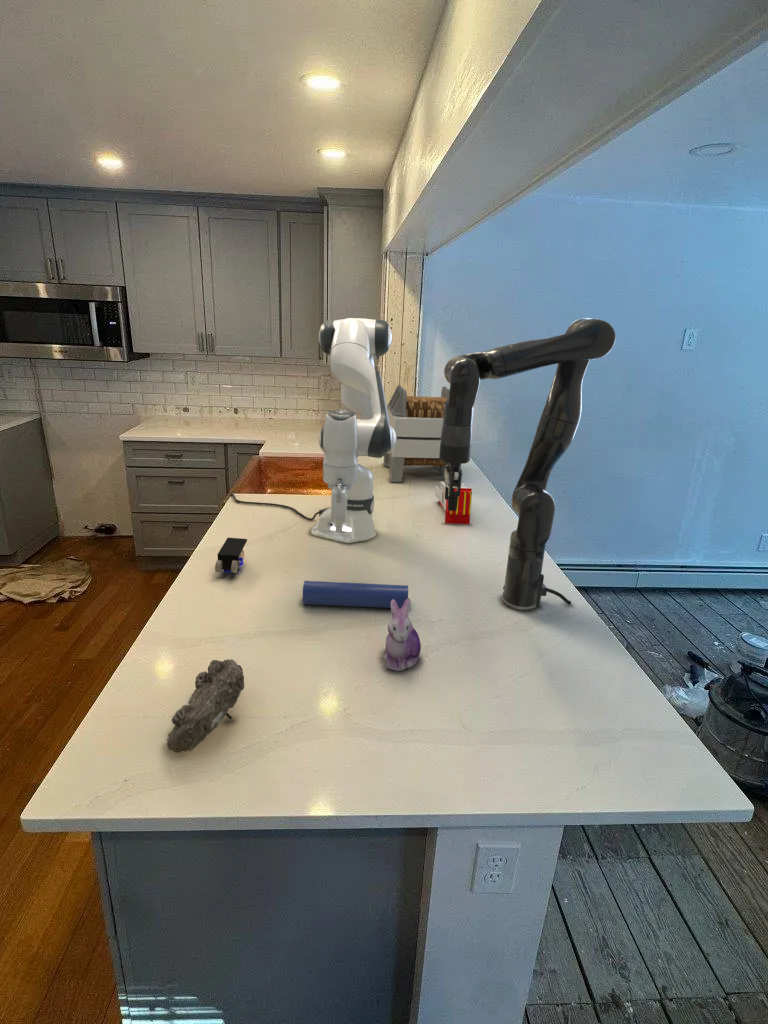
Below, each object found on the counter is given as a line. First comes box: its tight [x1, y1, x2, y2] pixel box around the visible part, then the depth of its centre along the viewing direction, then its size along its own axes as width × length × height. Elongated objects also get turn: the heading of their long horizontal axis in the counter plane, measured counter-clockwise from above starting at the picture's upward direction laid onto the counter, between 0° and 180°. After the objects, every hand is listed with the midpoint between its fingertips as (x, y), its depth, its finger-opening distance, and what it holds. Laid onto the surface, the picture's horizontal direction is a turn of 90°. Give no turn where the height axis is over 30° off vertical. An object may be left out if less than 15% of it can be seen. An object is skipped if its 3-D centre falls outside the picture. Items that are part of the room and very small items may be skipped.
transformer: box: [383, 384, 462, 483], centre depth 268 cm, size 34×33×41 cm
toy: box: [434, 481, 473, 525], centre depth 222 cm, size 12×13×30 cm
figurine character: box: [214, 537, 248, 578], centre depth 166 cm, size 7×8×15 cm
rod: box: [301, 580, 409, 609], centre depth 150 cm, size 27×6×6 cm, turn 89°
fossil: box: [166, 658, 245, 754], centre depth 106 cm, size 22×10×15 cm
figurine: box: [383, 597, 422, 672], centre depth 125 cm, size 9×10×15 cm
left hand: (339, 525), depth 149 cm, fingers open, 8 cm apart
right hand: (450, 504), depth 143 cm, fingers open, 8 cm apart
